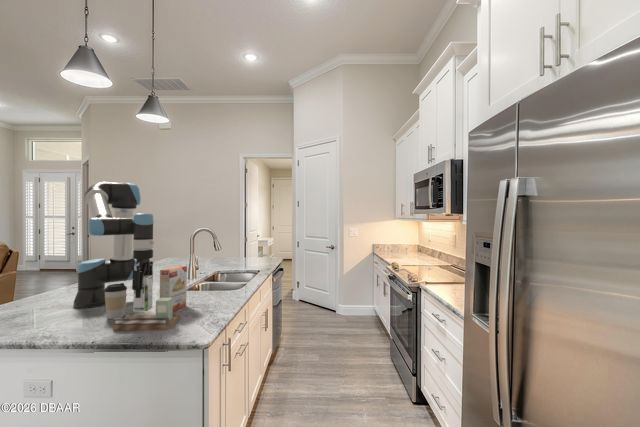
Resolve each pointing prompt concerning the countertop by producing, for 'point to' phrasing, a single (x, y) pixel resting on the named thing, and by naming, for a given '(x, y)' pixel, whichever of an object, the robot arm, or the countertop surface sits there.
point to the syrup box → (145, 294)
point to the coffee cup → (115, 300)
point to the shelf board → (144, 322)
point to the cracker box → (174, 285)
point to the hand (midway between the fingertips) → (142, 302)
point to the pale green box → (164, 308)
